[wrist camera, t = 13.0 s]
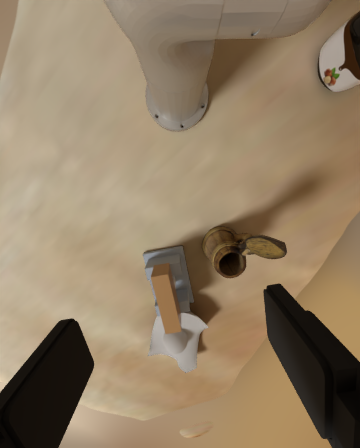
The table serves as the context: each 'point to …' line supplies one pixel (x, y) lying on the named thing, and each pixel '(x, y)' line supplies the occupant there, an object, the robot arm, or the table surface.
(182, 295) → the display stand
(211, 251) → the wooden mug
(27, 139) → the table surface
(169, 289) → the tan wooden plank
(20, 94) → the table surface
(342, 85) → the spread jar
